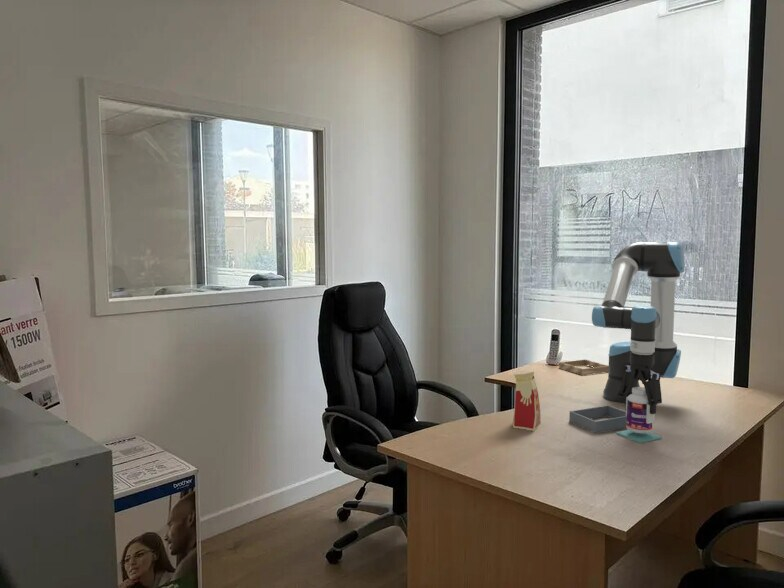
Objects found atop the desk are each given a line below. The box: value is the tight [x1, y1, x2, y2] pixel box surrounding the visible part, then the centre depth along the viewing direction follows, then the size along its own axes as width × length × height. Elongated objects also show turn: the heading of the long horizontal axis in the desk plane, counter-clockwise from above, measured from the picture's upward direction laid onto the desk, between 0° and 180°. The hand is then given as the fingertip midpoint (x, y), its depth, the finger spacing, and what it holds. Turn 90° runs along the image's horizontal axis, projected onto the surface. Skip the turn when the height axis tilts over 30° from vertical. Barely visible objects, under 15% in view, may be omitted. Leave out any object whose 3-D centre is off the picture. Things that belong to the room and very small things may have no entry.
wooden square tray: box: [558, 358, 609, 376], centre depth 293 cm, size 17×17×3 cm
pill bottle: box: [626, 386, 653, 434], centre depth 197 cm, size 8×8×14 cm
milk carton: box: [512, 370, 542, 432], centre depth 209 cm, size 9×9×20 cm
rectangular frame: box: [568, 404, 627, 434], centre depth 211 cm, size 13×18×4 cm
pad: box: [616, 429, 663, 444], centre depth 198 cm, size 10×10×1 cm
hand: (639, 418), depth 198 cm, fingers closed on pill bottle, 8 cm apart
